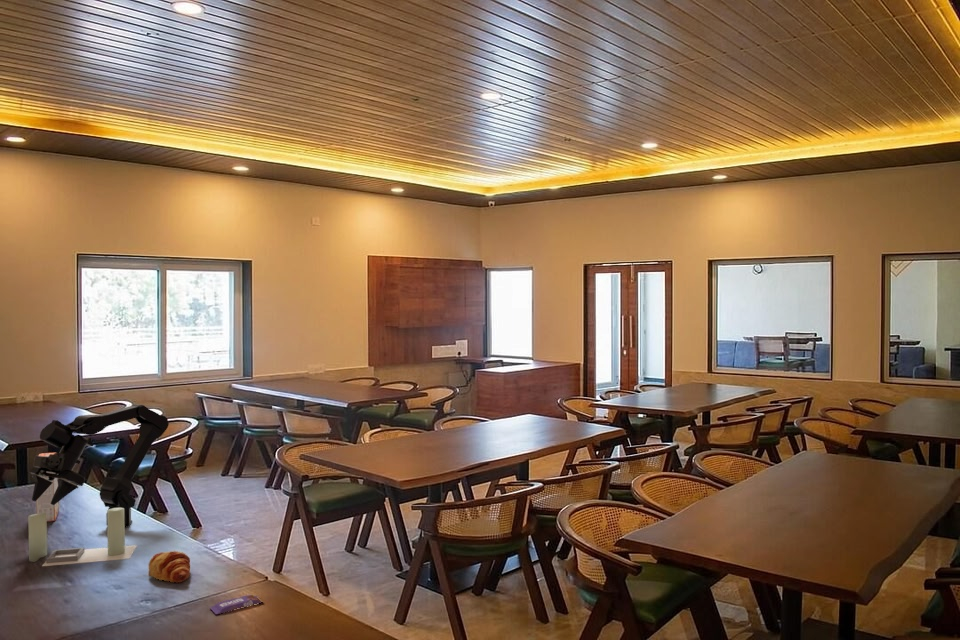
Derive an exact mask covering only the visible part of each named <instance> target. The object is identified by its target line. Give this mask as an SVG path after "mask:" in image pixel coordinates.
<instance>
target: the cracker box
mask: <svg viewBox="0 0 960 640" xmlns="http://www.w3.org/2000/svg"><path fill="white" fill-rule="evenodd" d="M55 453H58V452H57V451H56V452H44V453H43V452H42V453H39V454H38V456H49V455H50V454H53V455H54V454H55ZM57 479H58V478H55V479H54V480H52V481H51V482H53V483H52V484H51V485H50V486H49V487H48V489H47V490H46V491H45V492H44V493H43V494H42V495H41V496H40V497H39V498H38V499H37V500H36V501H35V514H38V513H45V514H47V522H48V523H49V522H50V523H51V522H55V521H56V520H57V517H58V514H59V511H60V501H59V502H57V503H56V504H55V505H52V504H51V501H52V498H53V496H54V494H55V492H56V489H57V487H58V481H57Z"/></svg>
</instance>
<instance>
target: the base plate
mask: <svg viewBox="0 0 960 640" xmlns="http://www.w3.org/2000/svg"><path fill="white" fill-rule="evenodd" d="M136 547H138V545H137V544H134V545H125V553H123V554H120V555H115V556H110V555H108V547H98V548H87V549H85V547H77V548H76V547H75V548H73V547H72V548H62V549H61V548H60V549H54V550H53V551H52V552H51V553H50V554H49V555H47V557H46V558H45V561H44V563H43V564H42V565H41V567H49V566H51V567H52V566H61V565H71V564H84V563H94V562H104V561H105V562H107V561H119V560H127V559H128V560H129V559H131V557H132V555H133V553H134V552H135V550H136Z"/></svg>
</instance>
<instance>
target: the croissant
mask: <svg viewBox="0 0 960 640" xmlns="http://www.w3.org/2000/svg"><path fill="white" fill-rule="evenodd" d="M190 562H191V558H190V557H189V556H188V554H186V553H185V552H182V551H178V550H173V551H165V552H159V553H156V554H154V555H153V556H152V557H151V559H150V560H149V563H148V576H149V577H150V576H151V577H152V578H154V579H155V578H156V579H155V580H157V579H159V580H158V581H162V580H164V581H163V582H169V581H170V582H169V583H174V582H176V583H178V582H179V583H181V582H184V581H185V580H187V579H189V576H190V573H191V572H190V571H191V563H190ZM176 583H175V584H176Z"/></svg>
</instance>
